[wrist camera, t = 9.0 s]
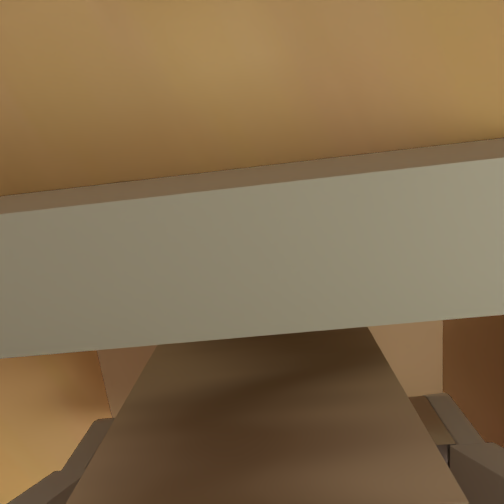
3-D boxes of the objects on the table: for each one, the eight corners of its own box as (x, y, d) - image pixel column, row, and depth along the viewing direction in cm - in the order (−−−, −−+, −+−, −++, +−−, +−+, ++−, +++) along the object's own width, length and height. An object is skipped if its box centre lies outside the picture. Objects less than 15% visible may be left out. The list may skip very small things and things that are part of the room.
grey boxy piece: (556, 132, 14) (1245, 73, 4) (539, 381, 16) (951, 722, 6) (-30, 199, 15) (-552, 276, 6) (33, 419, 18) (-257, 746, 8)
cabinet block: (354, 305, 10) (468, 502, 4) (364, 473, 12) (462, 797, 6) (170, 322, 11) (53, 525, 5) (199, 484, 12) (134, 800, 6)
